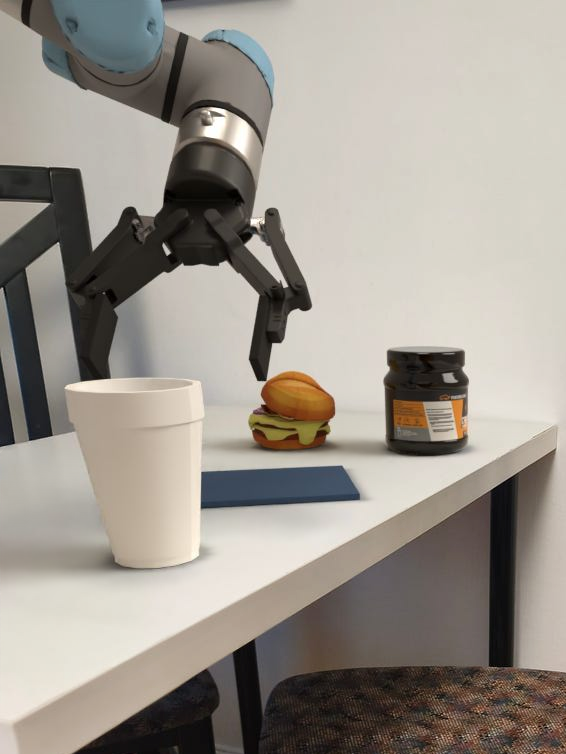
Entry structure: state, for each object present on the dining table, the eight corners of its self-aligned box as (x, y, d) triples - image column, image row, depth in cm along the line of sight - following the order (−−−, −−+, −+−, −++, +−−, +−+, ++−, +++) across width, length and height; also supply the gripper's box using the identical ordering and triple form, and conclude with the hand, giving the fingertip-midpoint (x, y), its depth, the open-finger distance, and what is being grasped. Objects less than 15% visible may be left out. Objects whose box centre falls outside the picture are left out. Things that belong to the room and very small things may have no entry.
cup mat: (145, 511, 83) (144, 504, 82) (155, 479, 95) (154, 473, 95) (360, 499, 87) (359, 493, 87) (342, 470, 100) (342, 465, 100)
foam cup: (132, 536, 75) (109, 376, 70) (237, 542, 73) (221, 379, 68) (68, 571, 66) (37, 391, 61) (187, 578, 65) (164, 394, 60)
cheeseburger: (290, 433, 121) (298, 360, 116) (347, 461, 117) (358, 386, 112) (231, 442, 113) (238, 364, 108) (290, 473, 109) (299, 393, 104)
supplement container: (449, 459, 106) (449, 354, 102) (370, 452, 110) (367, 350, 105) (480, 444, 116) (481, 347, 111) (406, 438, 119) (404, 344, 114)
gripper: (58, 140, 77) (-2, 335, 69) (344, 141, 76) (318, 338, 68) (95, 212, 84) (45, 396, 76) (358, 213, 83) (335, 400, 75)
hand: (174, 369), depth 72 cm, fingers open, 13 cm apart
